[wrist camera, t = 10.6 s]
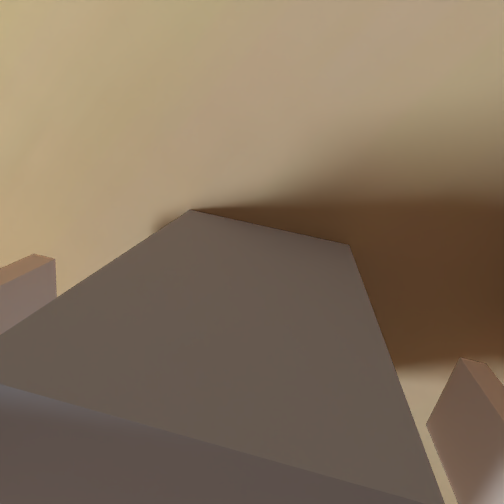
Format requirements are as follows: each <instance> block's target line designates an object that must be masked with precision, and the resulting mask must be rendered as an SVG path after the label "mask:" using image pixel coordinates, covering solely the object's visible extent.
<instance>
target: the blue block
mask: <svg viewBox="0 0 504 504" xmlns="http://www.w3.org/2000/svg"><path fill="white" fill-rule="evenodd" d="M0 504H445V503H444V500H443V498H442V495H441V492H440V490H439V487H438V484H437V481H436V479H435V476H434V473H433V471H432V468H431V465H430V463H429V460H428V457H427V454H426V452H425V449H424V446H423V444H422V441H421V438H420V435H419V433H418V430H417V427H416V425H415V422H414V419H413V417H412V414H411V411H410V408H409V406H408V403H407V400H406V398H405V395H404V392H403V389H402V387H401V384H400V381H399V379H398V376H397V373H396V371H395V368H394V365H393V362H392V360H391V357H390V354H389V352H388V349H387V346H386V343H385V341H384V338H383V335H382V333H381V330H380V327H379V325H378V322H377V319H376V316H375V314H374V311H373V308H372V306H371V303H370V300H369V297H368V295H367V292H366V289H365V287H364V284H363V281H362V279H361V276H360V273H359V270H358V268H357V265H356V262H355V260H354V257H353V254H352V251H351V249H350V246H349V245H347V244H343V243H338V242H334V241H329V240H325V239H320V238H316V237H311V236H307V235H302V234H298V233H293V232H289V231H284V230H280V229H275V228H271V227H266V226H262V225H257V224H253V223H248V222H243V221H239V220H234V219H230V218H225V217H221V216H216V215H212V214H207V213H203V212H198V211H194V210H189V211H187V212H186V213H184V214H183V215H181V216H180V217H178V218H177V219H175V220H174V221H172V222H171V223H169V224H168V225H166V226H165V227H163V228H162V229H160V230H159V231H157V232H156V233H154V234H152V235H151V236H149V237H148V238H146V239H145V240H143V241H142V242H140V243H139V244H137V245H136V246H134V247H133V248H131V249H130V250H128V251H127V252H125V253H124V254H122V255H121V256H119V257H118V258H116V259H115V260H113V261H112V262H110V263H109V264H107V265H106V266H104V267H102V268H101V269H99V270H98V271H96V272H95V273H93V274H92V275H90V276H89V277H87V278H86V279H84V280H83V281H81V282H80V283H78V284H77V285H75V286H74V287H72V288H71V289H69V290H68V291H66V292H65V293H63V294H62V295H60V296H59V297H57V298H56V299H54V300H52V301H51V302H49V303H48V304H46V305H45V306H43V307H42V308H40V309H39V310H37V311H36V312H34V313H33V314H31V315H30V316H28V317H27V318H25V319H24V320H22V321H21V322H19V323H18V324H16V325H15V326H13V327H12V328H10V329H9V330H7V331H6V332H4V333H2V334H1V335H0Z"/></svg>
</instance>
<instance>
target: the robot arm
mask: <svg viewBox="0 0 504 504" xmlns="http://www.w3.org/2000/svg"><path fill="white" fill-rule="evenodd" d="M56 298H57V295H56V268H55V259H54V258H49V257H45V256H41V255H37V254H32V255H30V256H28V257H25V258H23V259H21V260H19V261H16V262H14V263H12V264H9V265H7V266H5V267H2V268H0V335H1V334H2V333H4V332H6V331H7V330H9V329H10V328H12V327H13V326H15V325H16V324H18V323H19V322H21V321H22V320H24V319H25V318H27V317H28V316H30V315H31V314H33V313H34V312H36V311H37V310H39V309H40V308H42V307H43V306H45V305H46V304H48V303H49V302H51V301H52V300H54V299H56ZM426 426H427V428H428V431H429V433H430V436H431V438H432V441H433V443H434V446H435V448H436V450H437V453H438V455H439V458H440V460H441V463H442V465H443V467H444V470H445V472H446V475H447V477H448V480H449V482H450V485H451V487H452V489H453V492H454V494H455V497H456V499H457V502H458V504H504V386H503V384H502V383H501V382H500V381H499V379H498V378H497V377H496V376H495V374H494V373H493V372H492V370H491V369H490V368H489V367H488V365H487V364H486V363H482V362H478V361H473V360H469V359H465V358H461V357H460V358H459V360H458V362H457V364H456V366H455V368H454V370H453V372H452V374H451V376H450V378H449V380H448V382H447V384H446V386H445V388H444V390H443V392H442V394H441V396H440V398H439V400H438V402H437V404H436V406H435V407H434V409H433V411H432V413H431V415H430V417H429V419H428V421H427V423H426Z"/></svg>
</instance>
